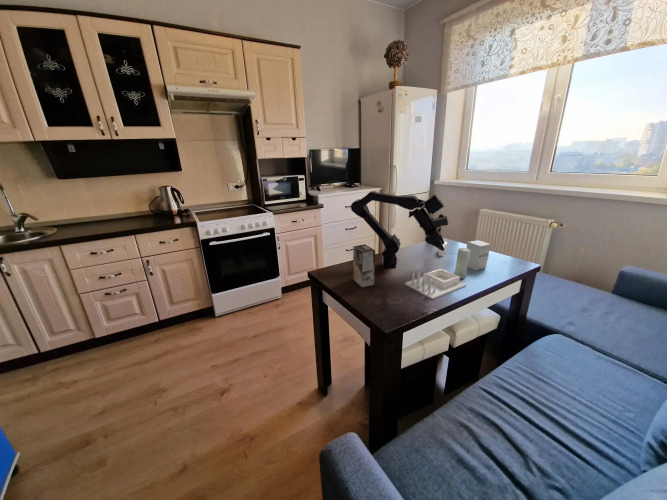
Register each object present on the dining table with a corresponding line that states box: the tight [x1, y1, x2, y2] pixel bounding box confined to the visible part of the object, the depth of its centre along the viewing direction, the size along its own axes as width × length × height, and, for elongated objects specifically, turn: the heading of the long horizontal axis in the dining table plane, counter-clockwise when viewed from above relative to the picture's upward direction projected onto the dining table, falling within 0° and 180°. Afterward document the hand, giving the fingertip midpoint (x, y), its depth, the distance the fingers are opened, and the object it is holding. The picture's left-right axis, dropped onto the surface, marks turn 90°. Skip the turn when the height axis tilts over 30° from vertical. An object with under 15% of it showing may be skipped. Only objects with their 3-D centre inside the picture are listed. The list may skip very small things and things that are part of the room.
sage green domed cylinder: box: [454, 247, 470, 280], centre depth 122 cm, size 5×5×13 cm
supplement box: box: [465, 239, 491, 271], centre depth 132 cm, size 7×7×13 cm
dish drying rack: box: [404, 268, 467, 300], centre depth 116 cm, size 21×15×7 cm
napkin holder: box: [438, 241, 448, 257], centre depth 152 cm, size 15×11×6 cm
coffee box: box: [352, 243, 376, 288], centre depth 118 cm, size 9×6×16 cm
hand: (443, 246), depth 124 cm, fingers open, 9 cm apart
